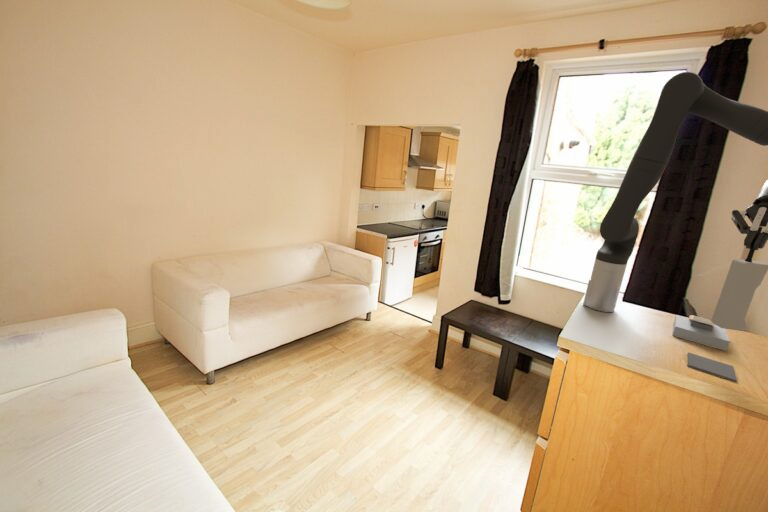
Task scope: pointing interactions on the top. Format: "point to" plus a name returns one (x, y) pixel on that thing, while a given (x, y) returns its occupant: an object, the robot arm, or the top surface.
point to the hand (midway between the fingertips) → (752, 246)
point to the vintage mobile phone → (739, 291)
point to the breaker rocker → (701, 319)
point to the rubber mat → (711, 366)
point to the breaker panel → (700, 332)
